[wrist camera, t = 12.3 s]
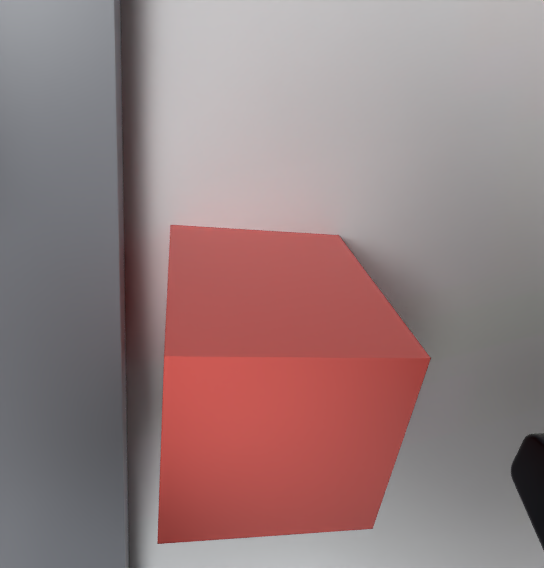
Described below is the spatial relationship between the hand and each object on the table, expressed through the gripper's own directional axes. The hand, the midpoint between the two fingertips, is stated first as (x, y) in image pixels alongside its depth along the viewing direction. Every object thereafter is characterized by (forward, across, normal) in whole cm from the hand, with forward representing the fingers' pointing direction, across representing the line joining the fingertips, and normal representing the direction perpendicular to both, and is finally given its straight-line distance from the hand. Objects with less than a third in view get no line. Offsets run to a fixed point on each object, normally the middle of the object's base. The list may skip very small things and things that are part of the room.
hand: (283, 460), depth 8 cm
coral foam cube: (+5, 0, 0) cm, 5 cm away
